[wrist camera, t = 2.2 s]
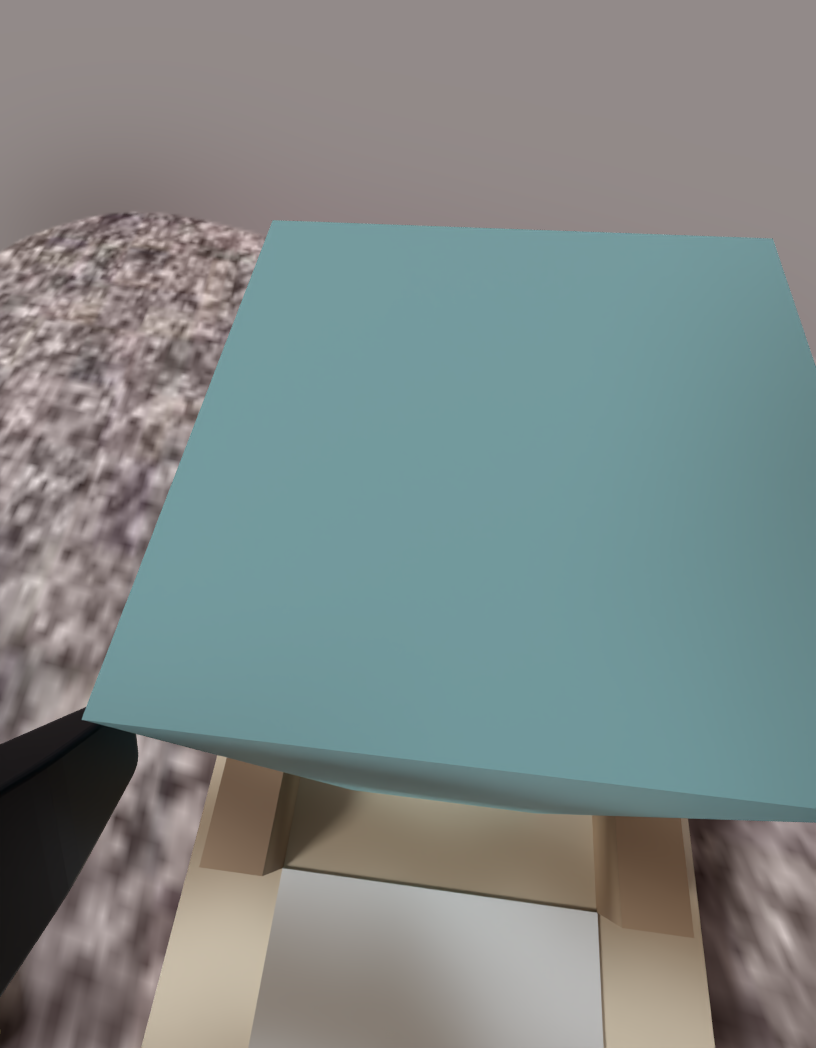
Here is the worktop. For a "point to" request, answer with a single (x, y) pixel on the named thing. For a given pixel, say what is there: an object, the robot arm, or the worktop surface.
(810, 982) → the worktop surface
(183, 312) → the worktop surface
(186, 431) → the worktop surface
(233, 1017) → the beige tray
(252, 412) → the tall block
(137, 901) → the worktop surface
